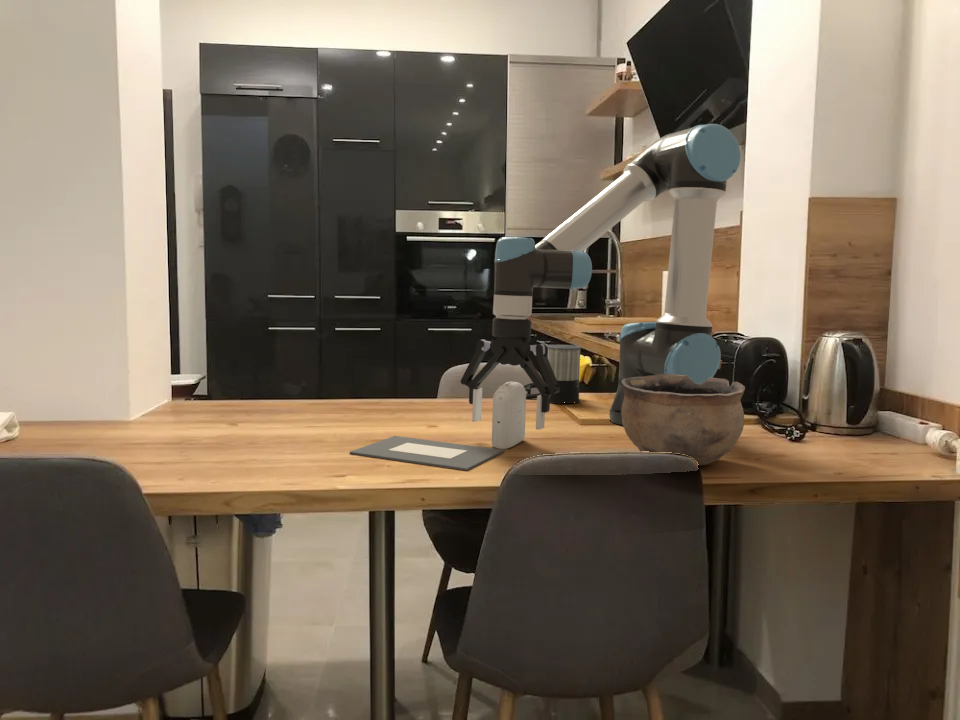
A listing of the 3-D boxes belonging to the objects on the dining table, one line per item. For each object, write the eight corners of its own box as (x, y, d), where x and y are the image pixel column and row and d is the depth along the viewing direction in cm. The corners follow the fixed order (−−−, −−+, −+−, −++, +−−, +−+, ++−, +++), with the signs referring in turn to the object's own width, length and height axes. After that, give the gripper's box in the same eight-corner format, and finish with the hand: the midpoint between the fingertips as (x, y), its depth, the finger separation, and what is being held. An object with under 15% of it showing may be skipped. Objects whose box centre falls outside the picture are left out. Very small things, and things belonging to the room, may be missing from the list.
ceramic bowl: (763, 464, 143) (768, 383, 141) (704, 485, 128) (709, 395, 126) (658, 443, 159) (662, 370, 157) (594, 460, 143) (597, 379, 141)
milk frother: (581, 405, 202) (584, 348, 200) (520, 403, 202) (522, 346, 200) (575, 396, 216) (577, 343, 215) (518, 395, 216) (519, 341, 215)
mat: (503, 451, 148) (504, 449, 148) (467, 470, 133) (467, 467, 133) (394, 437, 158) (394, 435, 158) (349, 453, 143) (349, 451, 143)
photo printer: (509, 450, 150) (511, 386, 148) (488, 447, 151) (490, 384, 150) (527, 440, 159) (529, 380, 158) (507, 437, 161) (509, 378, 159)
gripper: (579, 320, 150) (573, 428, 153) (463, 313, 161) (459, 414, 163) (566, 321, 144) (561, 435, 146) (446, 314, 154) (443, 420, 156)
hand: (507, 424), depth 155 cm, fingers open, 13 cm apart
